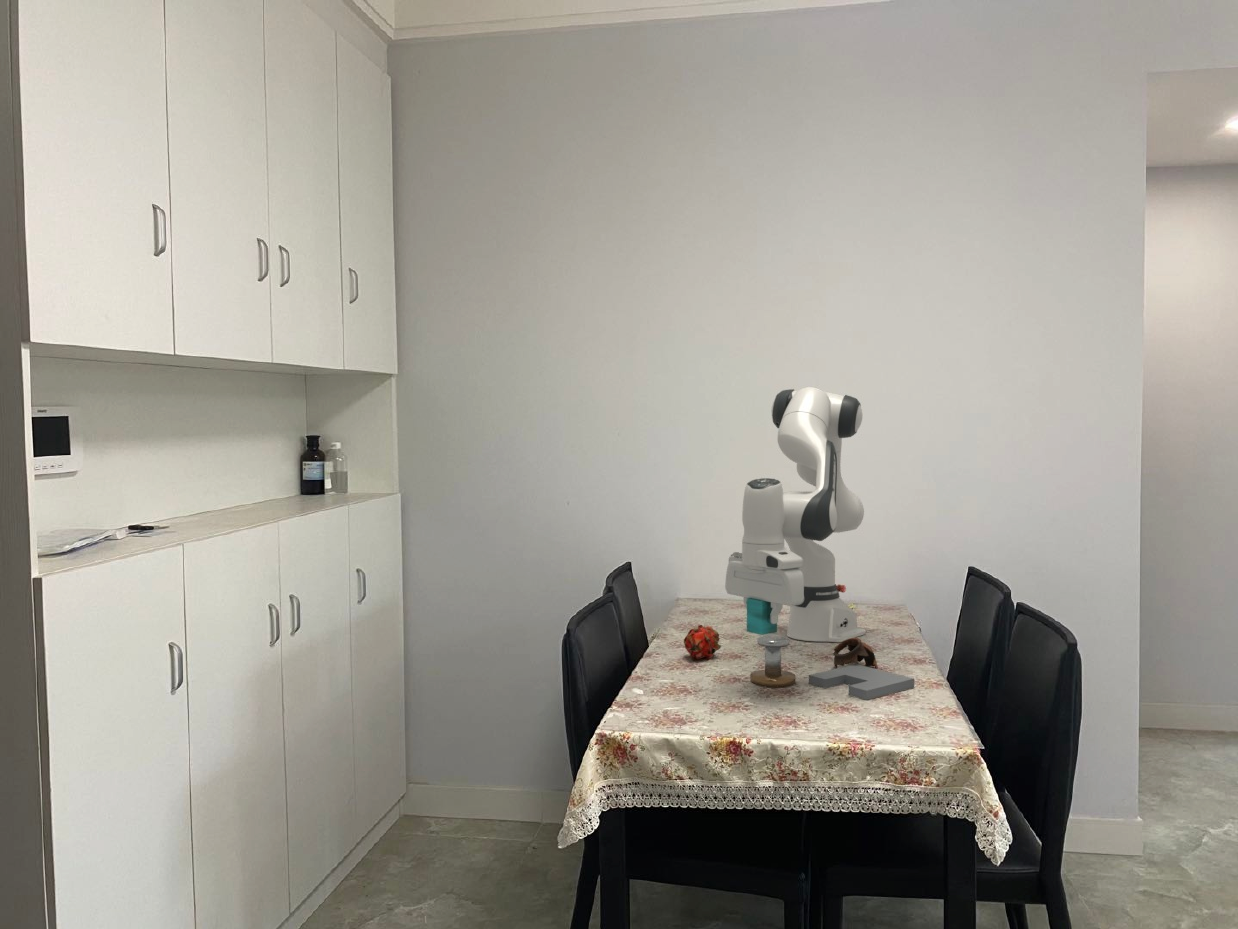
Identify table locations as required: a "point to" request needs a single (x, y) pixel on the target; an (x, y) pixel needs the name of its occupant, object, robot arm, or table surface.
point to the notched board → (862, 681)
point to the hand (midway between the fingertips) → (762, 621)
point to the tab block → (759, 617)
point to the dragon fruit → (702, 642)
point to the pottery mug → (854, 653)
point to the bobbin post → (773, 665)
